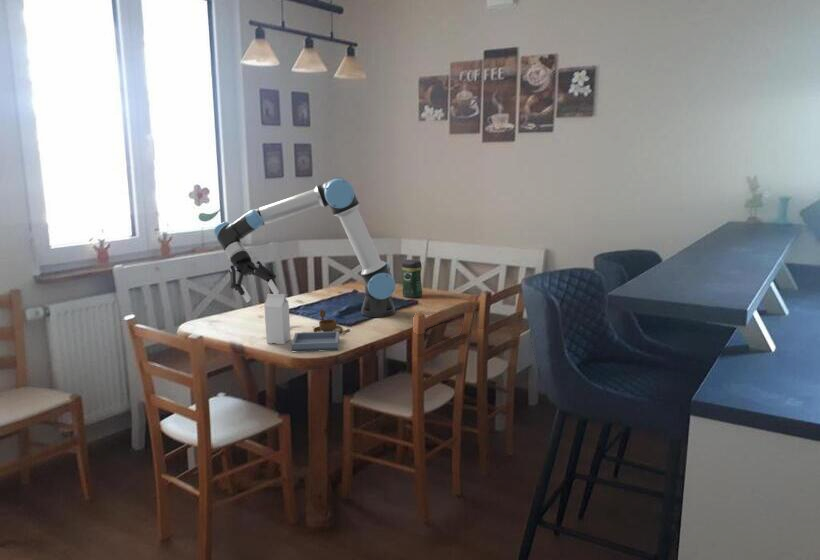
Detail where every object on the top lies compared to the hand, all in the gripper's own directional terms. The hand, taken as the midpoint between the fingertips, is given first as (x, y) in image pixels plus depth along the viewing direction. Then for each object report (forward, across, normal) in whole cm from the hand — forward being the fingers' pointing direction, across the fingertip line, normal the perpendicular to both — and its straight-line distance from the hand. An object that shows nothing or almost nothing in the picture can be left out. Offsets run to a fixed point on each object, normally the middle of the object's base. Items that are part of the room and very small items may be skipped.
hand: (263, 297), depth 254 cm
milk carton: (+17, -1, -7) cm, 18 cm away
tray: (+28, -7, +4) cm, 29 cm away
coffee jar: (+11, -91, -13) cm, 92 cm away
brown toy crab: (+20, -25, -5) cm, 32 cm away
